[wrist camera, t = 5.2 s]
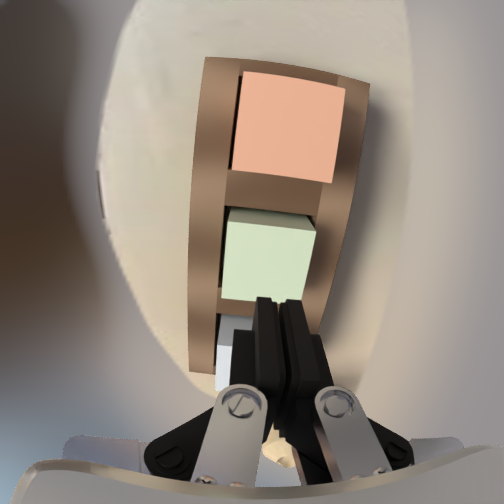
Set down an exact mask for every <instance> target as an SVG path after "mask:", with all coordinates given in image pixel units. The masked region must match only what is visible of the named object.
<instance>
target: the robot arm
mask: <svg viewBox="0 0 504 504" xmlns="http://www.w3.org/2000/svg"><path fill="white" fill-rule="evenodd" d="M272 424H273V428H274V430H279V438H285V441H286V442H287V443H289V444H290V445H291V449H292V454H293V458H294V461H295V465H296V468H297V472H298V475H299V479H300V482H301V486H292V487H255V481H256V475H257V470H258V464H259V458H260V452H261V446H262V444H263V443H265V442H266V441H267V438H268V435H269V433H270V430H271V427H272ZM9 504H504V447H502V446H499V445H476V446H471V447H467V448H464V446H463V444H462V443H461V441H459V440H458V439H457V438H454V437H445V438H425V439H411V440H410V441H407V440H406V439H404V438H403V437H401V436H399V435H398V434H396V433H394V432H392V431H390V430H389V429H387V428H385V427H383V426H382V425H380V424H378V423H376V422H375V421H373V420H371V419H369V418H368V417H367V416H366V414H365V412H364V410H363V408H362V406H361V405H360V402H359V400H358V399H357V397H356V396H355V394H353V393H352V392H351V391H350V390H348V389H345V388H343V387H338V386H334V384H333V380H332V376H331V373H330V369H329V366H328V362H327V358H326V355H325V351H324V348H323V344H322V341H321V338H320V335H318V334H310V331H309V327H308V324H307V320H306V316H305V312H304V308H303V304H302V301H301V300H295V299H286V301H285V302H281V303H280V306H279V311H278V307H277V302H272V298H270V297H258V296H257V298H256V304H255V310H254V317H253V324H252V330H242V329H234V332H233V342H232V353H231V365H230V379H229V386H228V387H226V388H224V389H223V390H222V391H221V392H220V393H219V395H218V396H217V399H216V402H215V405H214V407H212V408H210V409H209V410H207V411H205V412H204V413H202V414H200V415H199V416H197V417H195V418H193V419H192V420H190V421H188V422H186V423H185V424H183V425H181V426H179V427H177V428H176V429H174V430H172V431H170V432H168V433H166V434H165V435H163V436H161V437H159V438H157V439H155V440H153V441H152V442H139V441H138V440H132V439H131V440H130V439H114V438H103V437H94V436H84V435H76V436H73V437H71V438H69V439H68V440H67V441H66V443H65V445H64V448H63V455H62V459H50V460H43V461H39V462H36V463H34V464H33V465H32V466H30V467H29V468H28V469H27V470H26V471H25V473H24V474H23V476H22V477H21V479H20V480H19V482H18V484H17V486H16V488H15V491H14V493H13V495H12V498H11V500H10V503H9Z"/></svg>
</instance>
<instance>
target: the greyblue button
mask: <svg viewBox="0 0 504 504" xmlns="http://www.w3.org/2000/svg"><path fill="white" fill-rule="evenodd" d="M252 324H253V317H251V316H240V315H230V314H222V315H221V322H220V329H219V336H218V344H217V359H216V378H215V391H222V390H223V389H224V388H226V387H228V386H229V379H230V365H231V353H232V342H233V332H234V329H242V330H252Z"/></svg>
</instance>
